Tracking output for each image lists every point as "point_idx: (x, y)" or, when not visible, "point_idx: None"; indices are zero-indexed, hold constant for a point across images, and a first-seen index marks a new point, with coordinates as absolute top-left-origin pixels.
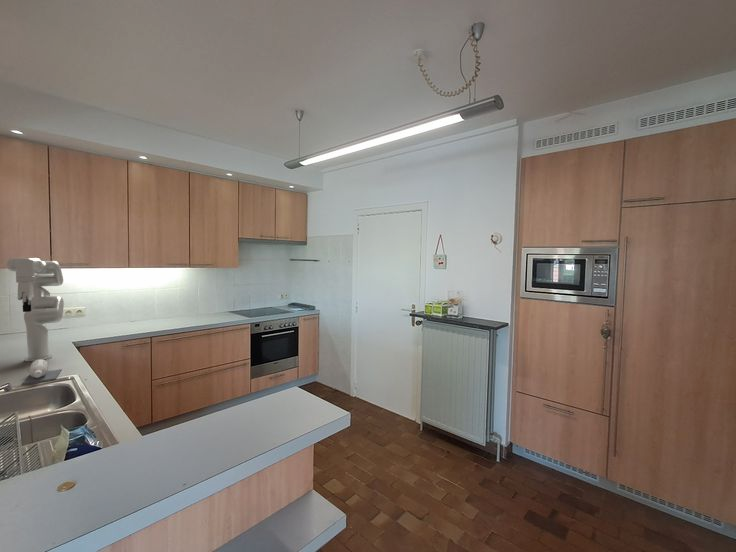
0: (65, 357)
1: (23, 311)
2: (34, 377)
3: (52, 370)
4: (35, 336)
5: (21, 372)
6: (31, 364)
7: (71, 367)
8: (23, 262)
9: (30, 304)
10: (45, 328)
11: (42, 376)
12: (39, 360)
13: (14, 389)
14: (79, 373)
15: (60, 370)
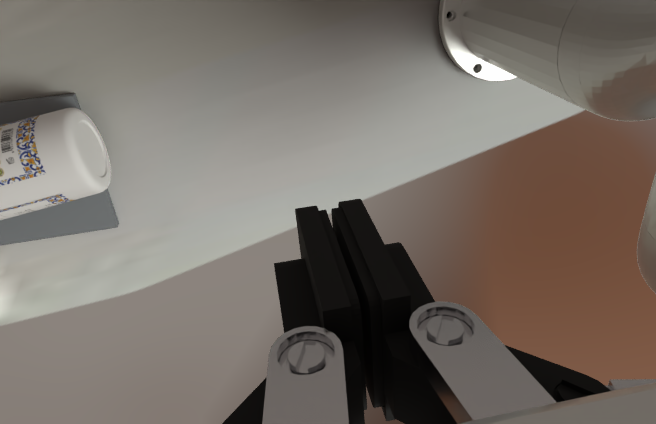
0: (437, 154)
1: (298, 217)
2: None
3: (103, 193)
4: (554, 42)
5: (163, 17)
6: (23, 135)
7: (170, 249)
8: None
9: (388, 414)
10: (638, 118)
11: None
12: (43, 180)
13: None
14: (24, 316)
15: (88, 231)
